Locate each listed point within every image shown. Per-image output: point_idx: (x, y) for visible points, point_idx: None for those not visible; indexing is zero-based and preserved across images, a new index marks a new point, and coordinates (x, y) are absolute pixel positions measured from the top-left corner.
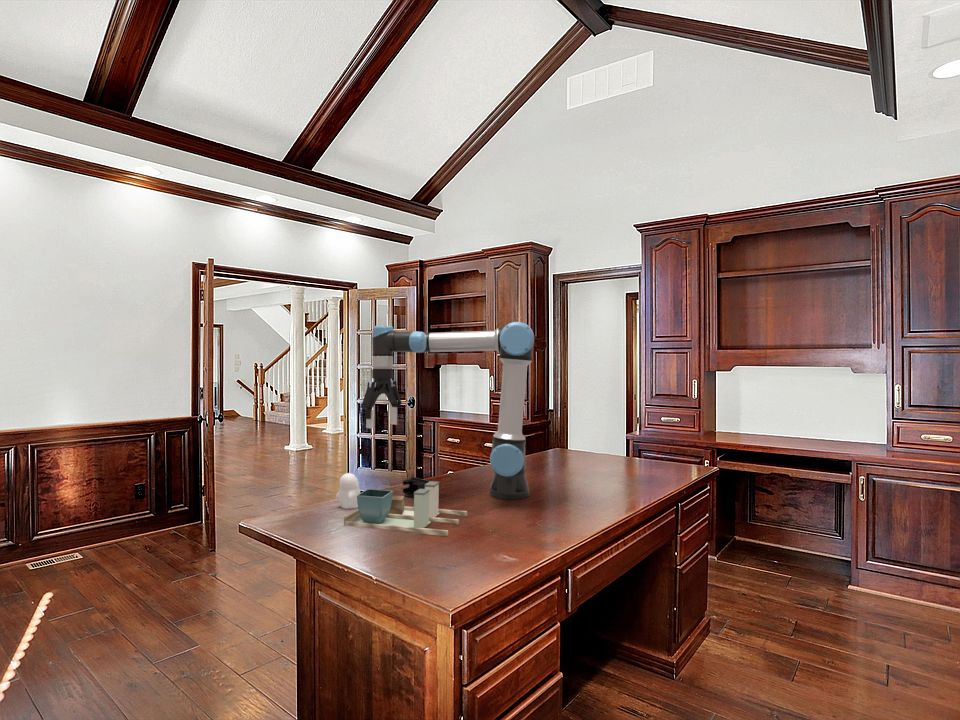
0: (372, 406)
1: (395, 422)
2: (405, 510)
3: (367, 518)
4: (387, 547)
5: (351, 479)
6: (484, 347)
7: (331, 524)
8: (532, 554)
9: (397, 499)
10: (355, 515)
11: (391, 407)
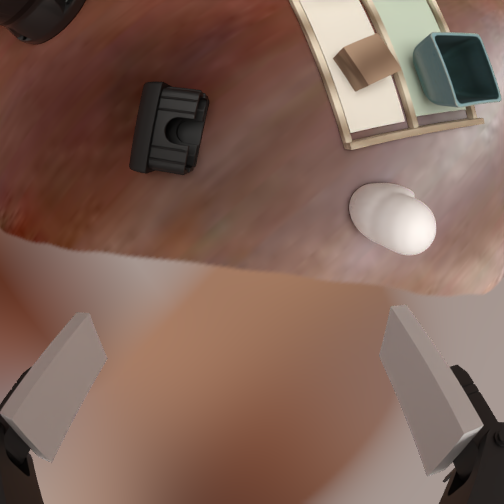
0: (488, 464)
1: (82, 326)
2: (325, 57)
3: (457, 80)
4: (483, 10)
5: (426, 207)
6: None
7: (472, 155)
8: None
9: (383, 45)
10: (449, 122)
11: (45, 451)
